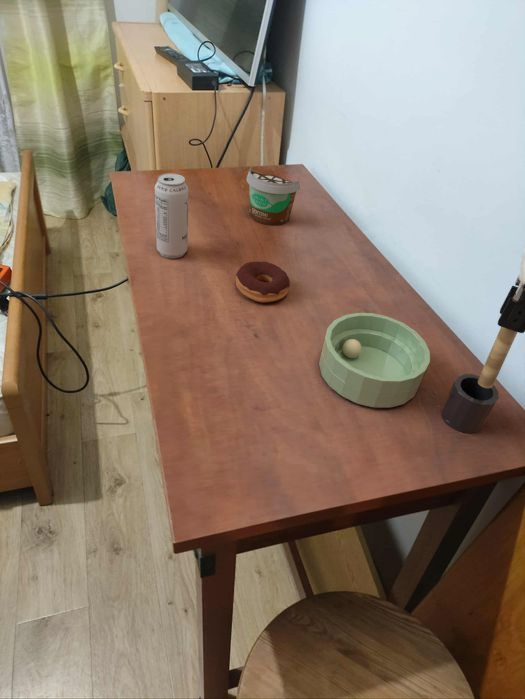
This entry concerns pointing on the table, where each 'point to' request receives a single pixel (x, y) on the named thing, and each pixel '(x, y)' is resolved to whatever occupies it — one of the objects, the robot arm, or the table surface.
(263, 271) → the donut
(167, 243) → the energy drink can
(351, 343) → the ball
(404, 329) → the bowl
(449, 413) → the holder
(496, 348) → the stick
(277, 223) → the food container
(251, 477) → the table surface
